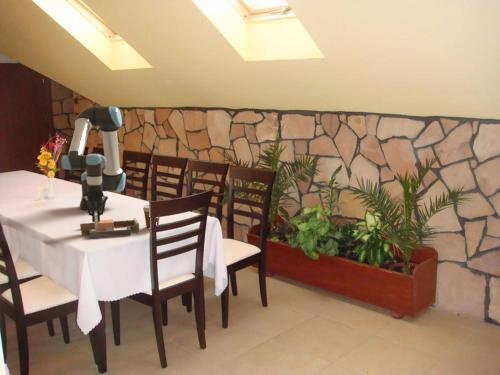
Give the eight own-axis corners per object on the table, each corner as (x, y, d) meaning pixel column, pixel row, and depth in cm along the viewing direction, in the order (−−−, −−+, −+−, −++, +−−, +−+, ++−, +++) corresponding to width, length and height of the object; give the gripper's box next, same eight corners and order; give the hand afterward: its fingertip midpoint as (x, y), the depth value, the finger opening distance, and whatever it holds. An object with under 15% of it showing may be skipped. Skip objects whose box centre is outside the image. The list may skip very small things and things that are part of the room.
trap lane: (80, 229, 278) (80, 221, 278) (135, 225, 288) (135, 218, 287) (82, 239, 261) (81, 231, 260) (140, 234, 271) (140, 227, 270)
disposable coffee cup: (162, 225, 288) (161, 204, 286) (159, 230, 279) (159, 208, 277) (145, 225, 288) (144, 204, 286) (142, 230, 279) (141, 208, 276)
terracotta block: (97, 229, 278) (97, 220, 277) (112, 228, 281) (112, 219, 280) (98, 232, 273) (97, 223, 272) (114, 231, 275) (113, 222, 274)
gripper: (81, 185, 264) (83, 230, 269) (108, 184, 269) (109, 228, 273) (81, 183, 271) (83, 226, 276) (107, 182, 275) (108, 225, 280)
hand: (96, 227), depth 274 cm, fingers closed
